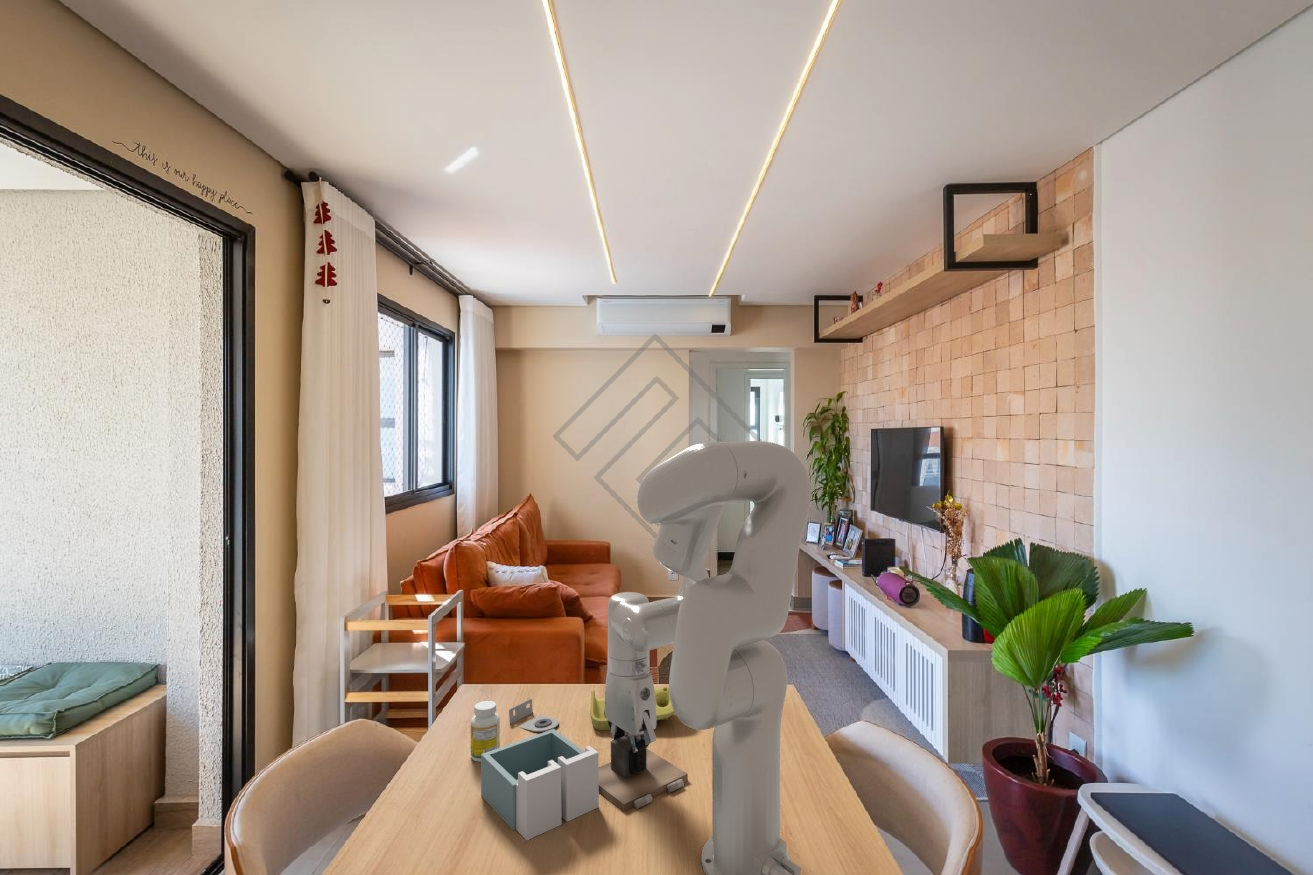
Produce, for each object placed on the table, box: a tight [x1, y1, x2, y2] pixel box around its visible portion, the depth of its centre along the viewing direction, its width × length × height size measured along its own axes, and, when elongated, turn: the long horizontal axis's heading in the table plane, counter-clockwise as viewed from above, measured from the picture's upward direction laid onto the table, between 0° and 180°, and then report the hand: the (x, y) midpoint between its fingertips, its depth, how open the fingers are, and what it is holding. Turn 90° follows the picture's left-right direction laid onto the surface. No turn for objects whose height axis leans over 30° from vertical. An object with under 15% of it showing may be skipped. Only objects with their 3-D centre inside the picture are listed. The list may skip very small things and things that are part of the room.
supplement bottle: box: [470, 700, 501, 763], centre depth 116 cm, size 5×5×10 cm
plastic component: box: [589, 686, 676, 731], centre depth 132 cm, size 20×7×10 cm
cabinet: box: [480, 728, 600, 841], centre depth 102 cm, size 15×14×9 cm
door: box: [598, 733, 689, 812], centre depth 108 cm, size 13×14×6 cm
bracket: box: [508, 698, 560, 733], centre depth 129 cm, size 7×10×4 cm, turn 57°
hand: (628, 764), depth 110 cm, fingers open, 4 cm apart
